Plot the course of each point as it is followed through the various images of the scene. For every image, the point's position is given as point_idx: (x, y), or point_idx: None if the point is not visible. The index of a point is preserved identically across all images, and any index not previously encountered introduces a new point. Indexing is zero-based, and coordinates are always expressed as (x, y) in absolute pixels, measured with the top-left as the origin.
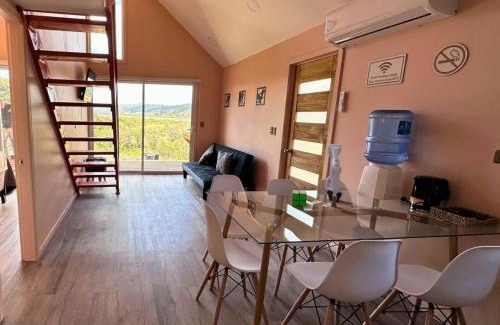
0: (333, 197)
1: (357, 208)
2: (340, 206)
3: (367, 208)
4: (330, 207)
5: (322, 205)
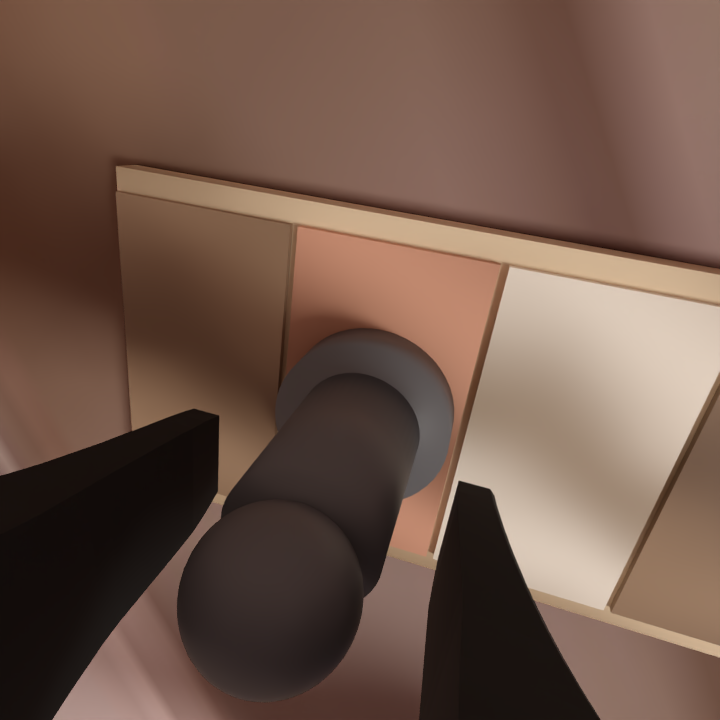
0: (250, 555)
1: None
2: None
3: None
4: (399, 259)
5: (706, 320)
